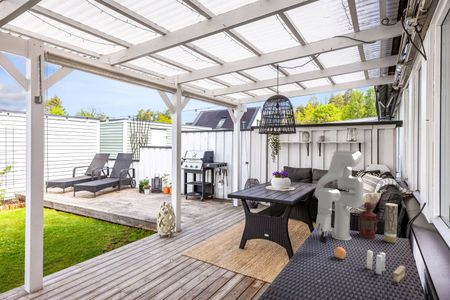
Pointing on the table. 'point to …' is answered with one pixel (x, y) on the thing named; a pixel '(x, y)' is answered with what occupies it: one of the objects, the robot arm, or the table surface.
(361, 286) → the table surface
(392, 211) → the paper tube
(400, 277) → the back wall
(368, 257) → the front pin
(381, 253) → the back pin left
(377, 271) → the back pin right
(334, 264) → the table surface
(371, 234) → the lantern
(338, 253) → the ball
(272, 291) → the table surface
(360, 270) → the table surface
